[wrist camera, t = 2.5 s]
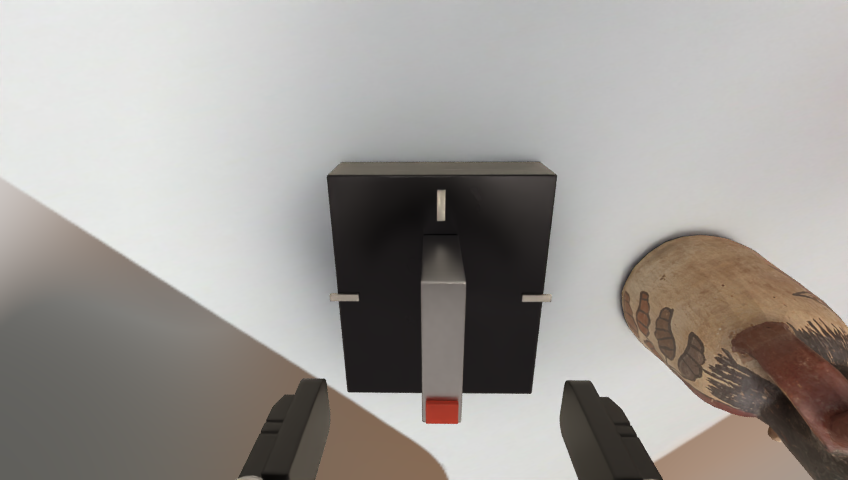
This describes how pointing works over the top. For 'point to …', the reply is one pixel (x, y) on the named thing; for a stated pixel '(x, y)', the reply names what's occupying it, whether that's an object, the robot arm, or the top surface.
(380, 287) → the tap plate
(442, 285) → the grey rectangular block
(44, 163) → the top surface
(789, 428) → the figurine
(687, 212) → the top surface
